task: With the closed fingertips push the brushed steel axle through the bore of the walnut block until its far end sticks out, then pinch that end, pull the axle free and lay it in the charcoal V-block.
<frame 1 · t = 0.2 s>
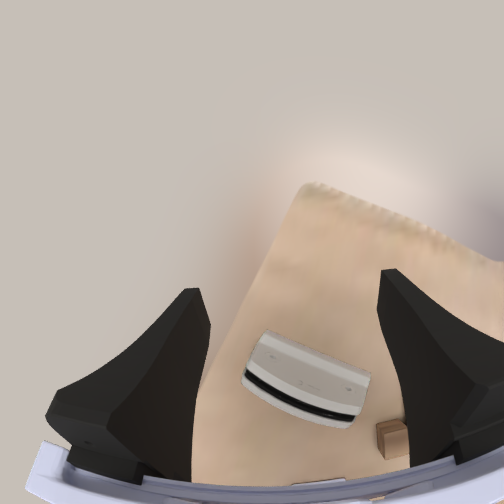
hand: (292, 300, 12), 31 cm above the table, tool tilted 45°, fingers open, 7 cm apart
hinge: (307, 376, 40), on the table
beam: (416, 425, 34), on the table
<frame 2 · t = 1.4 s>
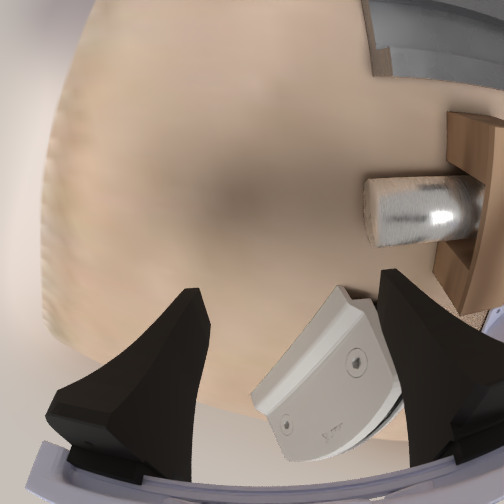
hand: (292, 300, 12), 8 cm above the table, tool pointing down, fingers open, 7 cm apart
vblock: (453, 38, 12), on the table
hinge: (323, 358, 27), on the table
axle: (430, 199, 18), on the table, tilted 6°
beam: (465, 198, 17), on the table
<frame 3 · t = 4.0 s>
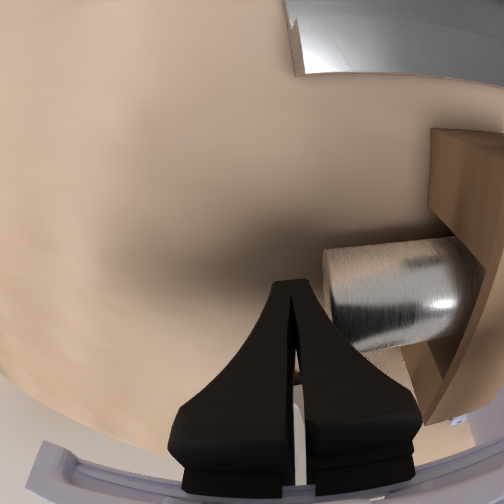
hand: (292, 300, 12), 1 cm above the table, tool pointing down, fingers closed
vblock: (440, 7, 7), on the table
hinge: (267, 427, 21), on the table
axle: (427, 263, 12), on the table, touching gripper
beam: (455, 258, 12), on the table
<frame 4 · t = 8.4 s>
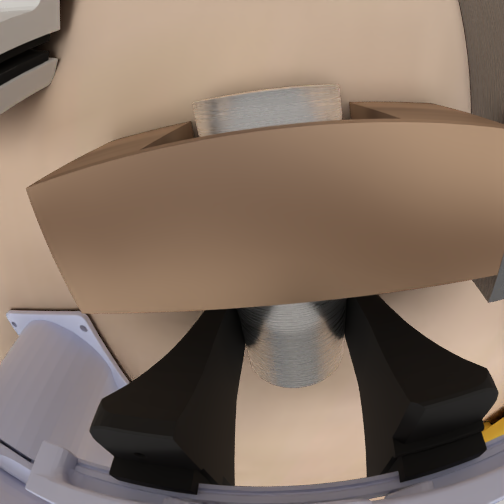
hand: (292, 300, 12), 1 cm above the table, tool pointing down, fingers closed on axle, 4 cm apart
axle: (284, 221, 12), on the table, touching gripper
beam: (277, 163, 11), on the table
when the fingers open (5 cm above the table, at t = 13.0 s): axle stays where it is, resting on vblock.
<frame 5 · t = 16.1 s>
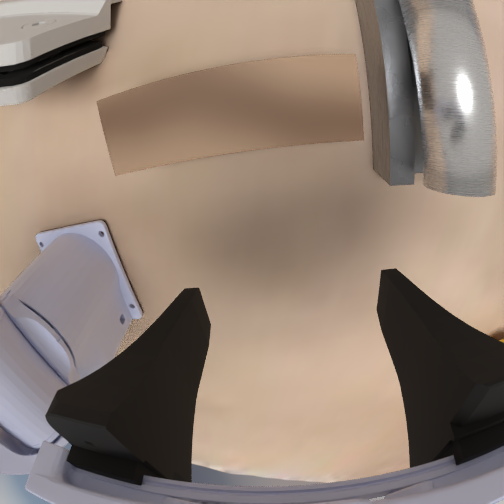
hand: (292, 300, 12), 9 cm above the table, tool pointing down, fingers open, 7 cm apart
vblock: (411, 78, 15), on the table
hinge: (28, 40, 14), on the table
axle: (439, 89, 12), point 3 cm above the table, tilted 10°, touching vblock
beam: (236, 103, 17), on the table
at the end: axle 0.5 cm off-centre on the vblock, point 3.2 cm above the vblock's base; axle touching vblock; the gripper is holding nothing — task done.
